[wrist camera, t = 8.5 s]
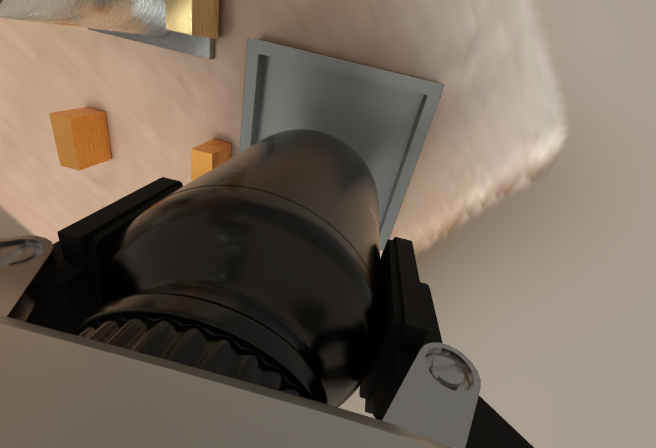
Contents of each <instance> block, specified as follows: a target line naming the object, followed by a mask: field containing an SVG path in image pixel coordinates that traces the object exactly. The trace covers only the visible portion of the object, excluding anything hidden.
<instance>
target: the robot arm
mask: <svg viewBox="0 0 656 448" xmlns="http://www.w3.org/2000/svg"><path fill="white" fill-rule="evenodd" d="M181 187H183V185H182V183H181V182H180V181H176V180H172V179H168V178H164V177H162V178H160V179H158V180H156V181H154V182H152V183H150V184H148V185H146V186H144V187H143V188H141V189H139V190H137V191H135V192H133V193H131V194H129V195H127V196H125V197H123V198H122V199H120V200H118V201H116V202H114V203H112V204H110V205H108V206H106V207H104V208H102V209H100V210H99V211H97V212H95V213H93V214H91V215H89V216H87V217H85V218H83V219H81V220H79V221H78V222H76V223H74V224H72V225H70V226H68V227H66V228H64V229H62V230H60V231H58V232H57V233H58V237H59V241H58V242H56V243H55V244H52V242H51V241H49V240H48V239H46V238H43V237H39V236H14V237H9V238H4V239H0V448H534V447H533V446H532V445H530V444H529V443H528V442H527V441H526V440H525V439H524V438H523V437H522V436H521V435H520V434H519V433H518V432H517V431H516V430H515V429H514V428H513V427H512V426H511V425H509V424H508V423H507V422H506V421H505V420H504V419H503V418H502V417H501V416H500V415H499V414H498V413H497V412H496V411H495V410H494V409H493V408H492V407H490V406H489V405H488V404H487V403H486V402H485V401H484V400H483V399H482V398H481V397H480V396H479V392H480V386H481V380H480V377H479V374H478V371H477V370H476V368H475V366H474V365H473V363H472V362H471V361H470V360H469V359H468V358H467V357H466V356H465V355H464V354H462V353H461V352H460V351H458V350H457V349H455V348H453V347H451V346H449V345H446V344H443V343H442V339H441V335H440V330H439V326H438V322H437V318H436V313H435V309H434V305H433V300H432V297H431V292H430V288H429V286H428V285H427V284H425V283H421V282H420V280H419V276H418V270H417V265H416V259H415V254H414V249H413V244H412V241H410V240H406V239H402V238H398V237H395V238H394V239H393V240H389V239H388V240H387V242H386V245H385V248H384V250H383V253H382V256H381V259H380V282H381V329H380V339H379V346H378V349H377V353H376V357H375V359H374V362H373V364H372V366H371V369H370V370H369V372H368V374H367V376H366V377H365V379H364V380H363V382H362V383H361V385H360V397H361V398H365V412H368V413H372V414H373V416H374V417H375V418H376V419H374V418H371V417H368V416H364V415H361V414H357V413H354V412H350V411H347V410H344V409H341V408H337V407H334V406H331V405H327V404H324V403H320V402H316V401H313V400H309V399H306V398H302V397H298V396H295V395H291V394H288V393H284V392H281V391H277V390H273V389H270V388H266V387H263V386H259V385H255V384H252V383H248V382H245V381H241V380H238V379H234V378H230V377H227V376H223V375H220V374H216V373H212V372H209V371H205V370H201V369H198V368H194V367H190V366H187V365H183V364H179V363H176V362H172V361H168V360H165V359H161V358H157V357H154V356H150V355H146V354H143V353H139V352H135V351H132V350H128V349H124V348H121V347H117V346H113V345H110V344H106V343H102V342H98V341H95V340H91V339H87V338H83V337H80V336H76V335H72V334H68V333H69V332H70V331H71V330H72V329H73V328H74V327H75V326H77V325H78V324H79V323H80V322H81V321H83V320H84V319H85V318H86V317H87V316H89V315H90V314H91V313H92V312H94V311H95V310H96V309H98V308H99V307H101V306H102V305H101V287H102V279H103V274H104V270H105V266H106V263H107V260H108V258H109V255H110V253H111V250H112V248H113V247H114V245H115V243H116V241H117V240H118V238H119V236H120V235H121V234H122V232H123V231H124V230H125V229H126V227H127V226H128V225H129V224H130V223H131V222H132V221H133V220H134V219H135V218H136V217H137V216H139V215H140V214H142V213H143V212H144V211H146V210H147V209H148V208H150V207H151V206H153V205H154V204H156V203H157V202H158V201H160V200H161V199H163V198H165V197H166V196H168V195H170V194H171V193H173V192H175V191H176V190H178V189H180V188H181Z"/></svg>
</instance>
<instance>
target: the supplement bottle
mask: <svg viewBox="0 0 656 448" xmlns="http://www.w3.org/2000/svg"><path fill="white" fill-rule="evenodd" d="M101 305H102V306H101V307H99V308H98V309H96V310H95V311H94V312H92V313H91V314H90V315H89V316H87V317H86V318H85V319H84V320H83V321H81V322H80V323H79V324H78V325H77V326H75V327H74V328H73V329H72V330H71V331H70V332H69V333H68V334H72V335H76V336H80V337H83V338H87V339H91V340H95V341H98V342H102V343H106V344H110V345H113V346H117V347H121V348H124V349H128V350H132V351H135V352H139V353H143V354H146V355H150V356H154V357H157V358H161V359H165V360H168V361H172V362H176V363H179V364H183V365H187V366H190V367H194V368H198V369H201V370H205V371H209V372H212V373H216V374H220V375H223V376H227V377H230V378H234V379H238V380H241V381H245V382H248V383H252V384H255V385H259V386H263V387H266V388H270V389H273V390H277V391H281V392H284V393H288V394H291V395H295V396H298V397H302V398H306V399H309V400H313V401H316V402H320V403H324V404H327V405H331V406H334V407H337V408H338V407H339V406H340V405H342V404H343V403H344V402H345V401H346V400H347V399H348V398H349V397H350V396H351V395H352V394H353V393H354V392H355V391H356V389H357V388H358V387H359V386H360V385H361V383H362V382H363V380H364V379H365V377H366V376H367V374H368V372H369V370H370V369H371V366H372V364H373V362H374V359H375V357H376V353H377V349H378V346H379V339H380V329H381V282H380V232H379V201H378V193H377V188H376V184H375V181H374V178H373V176H372V174H371V172H370V170H369V168H368V166H367V165H366V163H365V162H364V160H363V159H362V158H361V157H360V156H359V154H358V153H357V152H356V151H355V150H353V149H352V148H351V147H350V146H349V145H347V144H346V143H345V142H343V141H341V140H340V139H338V138H336V137H334V136H332V135H329V134H326V133H324V132H320V131H316V130H309V129H293V130H287V131H283V132H279V133H276V134H273V135H271V136H269V137H267V138H265V139H263V140H261V141H259V142H257V143H256V144H254V145H252V146H250V147H249V148H247V149H245V150H244V151H242V152H240V153H239V154H237V155H235V156H234V157H232V158H230V159H229V160H227V161H225V162H224V163H222V164H220V165H218V166H217V167H215V168H213V169H212V170H210V171H208V172H207V173H205V174H203V175H202V176H200V177H198V178H197V179H195V180H193V181H192V182H190V183H188V184H187V185H185V186H183V187H181V188H180V189H178V190H176V191H175V192H173V193H171V194H170V195H168V196H166V197H165V198H163V199H161V200H160V201H158V202H157V203H156V204H154V205H153V206H151V207H150V208H148V209H147V210H146V211H144V212H143V213H142V214H140V215H139V216H137V217H136V218H135V219H134V220H133V221H132V222H131V223H130V224H129V225H128V226H127V227H126V229H125V230H124V231H123V232H122V234H121V235H120V236H119V238H118V240H117V241H116V243H115V245H114V247H113V248H112V250H111V253H110V255H109V258H108V260H107V263H106V266H105V270H104V274H103V279H102V287H101Z"/></svg>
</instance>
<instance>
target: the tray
mask: <svg viewBox="0 0 656 448" xmlns="http://www.w3.org/2000/svg"><path fill="white" fill-rule="evenodd" d="M444 86H445V85H443V84H441V83H437V82H433V81H429V80H425V79H421V78H416V77H412V76H408V75H404V74H400V73H396V72H392V71H388V70H383V69H379V68H375V67H371V66H367V65H363V64H359V63H355V62H351V61H346V60H342V59H338V58H334V57H330V56H326V55H322V54H318V53H313V52H309V51H305V50H301V49H297V48H293V47H289V46H285V45H281V44H276V43H272V42H268V41H264V40H260V39H255V38H250V37H248V40H247V54H246V67H245V81H244V95H243V109H242V123H241V137H240V151H239V153H240V152H242V151H244V150H245V149H247V148H249V147H250V146H252V145H254V144H256V143H257V142H259V141H261V140H263V139H265V138H267V137H269V136H271V135H273V134H276V133H279V132H283V131H287V130H293V129H309V130H316V131H320V132H324V133H326V134H329V135H332V136H334V137H336V138H338V139H340V140H341V141H343V142H345V143H346V144H347V145H349V146H350V147H351V148H352V149H353V150H355V151H356V152H357V153H358V154H359V156H360V157H361V158H362V159H363V160H364V162H365V163H366V165H367V166H368V168H369V170H370V172H371V174H372V176H373V178H374V181H375V184H376V188H377V193H378V201H379V232H380V250H384V248H385V245H386V242H387V240H388V239H389V237H390V234H391V232H392V229H393V226H394V223H395V220H396V218H397V215H398V212H399V209H400V207H401V204H402V201H403V198H404V196H405V193H406V190H407V187H408V185H409V182H410V179H411V176H412V174H413V171H414V168H415V165H416V163H417V160H418V157H419V154H420V152H421V149H422V146H423V143H424V141H425V138H426V135H427V132H428V130H429V127H430V124H431V121H432V119H433V116H434V113H435V110H436V108H437V105H438V102H439V99H440V97H441V94H442V91H443V88H444Z"/></svg>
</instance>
